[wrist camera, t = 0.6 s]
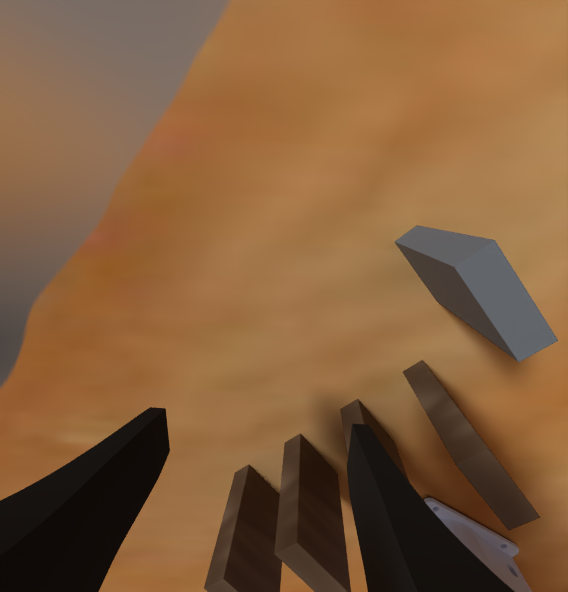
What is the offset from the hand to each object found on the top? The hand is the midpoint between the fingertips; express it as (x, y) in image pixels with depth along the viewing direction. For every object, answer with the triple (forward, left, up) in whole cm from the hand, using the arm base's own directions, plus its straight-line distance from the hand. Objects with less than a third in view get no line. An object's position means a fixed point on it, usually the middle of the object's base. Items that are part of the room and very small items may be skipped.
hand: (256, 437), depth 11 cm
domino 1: (-6, +14, -10) cm, 18 cm away
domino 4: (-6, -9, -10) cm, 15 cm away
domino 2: (-8, +8, -10) cm, 16 cm away
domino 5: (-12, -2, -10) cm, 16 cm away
